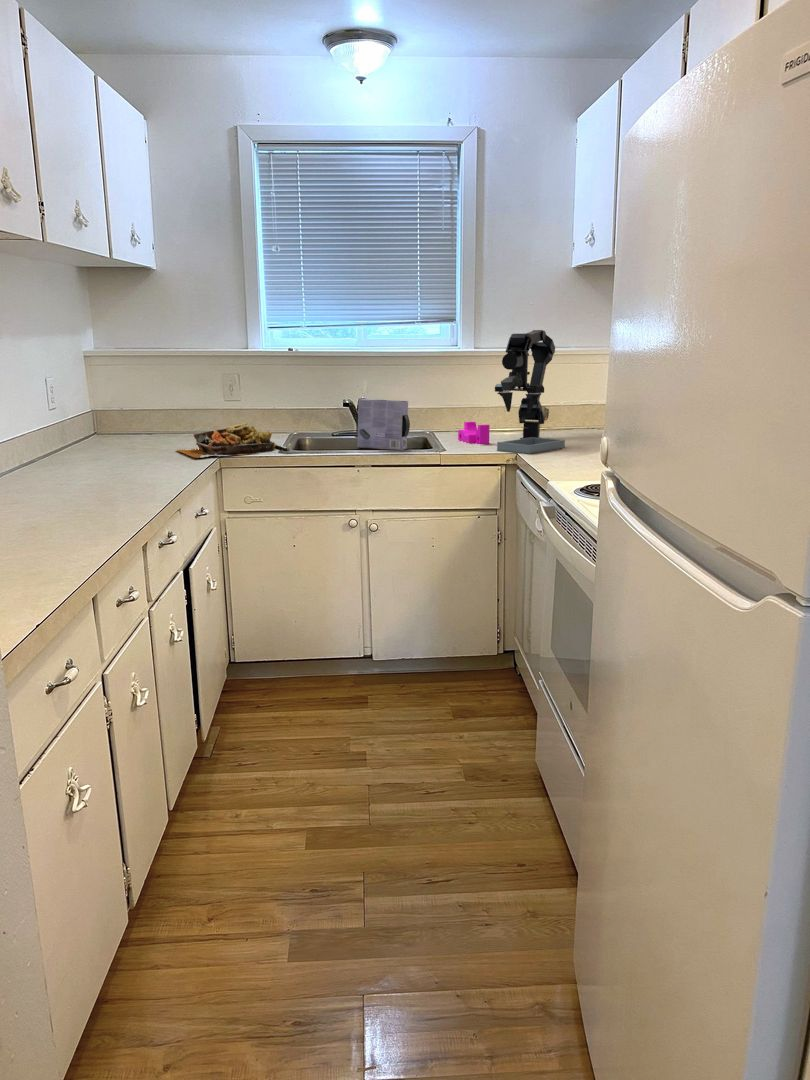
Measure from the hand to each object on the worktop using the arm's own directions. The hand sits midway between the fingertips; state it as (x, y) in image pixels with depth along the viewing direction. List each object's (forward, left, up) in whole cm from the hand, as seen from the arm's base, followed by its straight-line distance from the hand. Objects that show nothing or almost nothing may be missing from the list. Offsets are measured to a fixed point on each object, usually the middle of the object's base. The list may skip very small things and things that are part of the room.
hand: (518, 412), depth 295 cm
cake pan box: (+41, -29, -12) cm, 52 cm away
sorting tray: (+8, +12, -12) cm, 19 cm away
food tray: (+81, -65, -13) cm, 105 cm away
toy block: (+5, -17, -12) cm, 22 cm away
